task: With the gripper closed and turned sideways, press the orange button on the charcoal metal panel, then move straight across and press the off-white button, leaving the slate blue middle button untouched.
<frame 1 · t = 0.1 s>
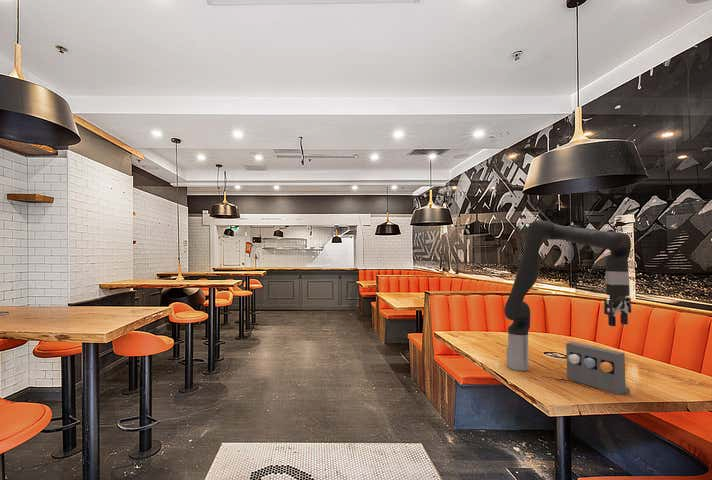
hand: (618, 325, 134), 29 cm above the table, tool pointing down, fingers open, 8 cm apart
offwhite button: (575, 358, 154), point 10 cm above the table, slide at 0.0 cm
button panel: (594, 385, 149), on the table
orange button: (607, 366, 143), point 10 cm above the table, slide at 0.0 cm
slate button: (590, 362, 149), point 10 cm above the table, slide at 0.0 cm
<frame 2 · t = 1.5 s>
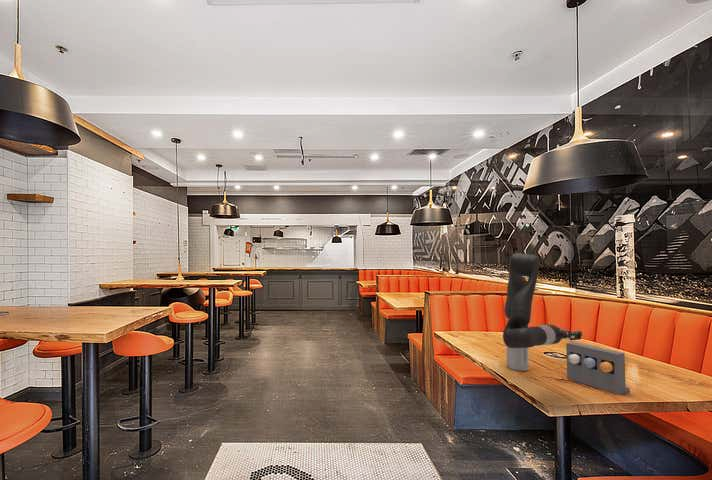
hand: (569, 332, 143), 24 cm above the table, tool horizontal, fingers open, 8 cm apart
nothing on the table moved.
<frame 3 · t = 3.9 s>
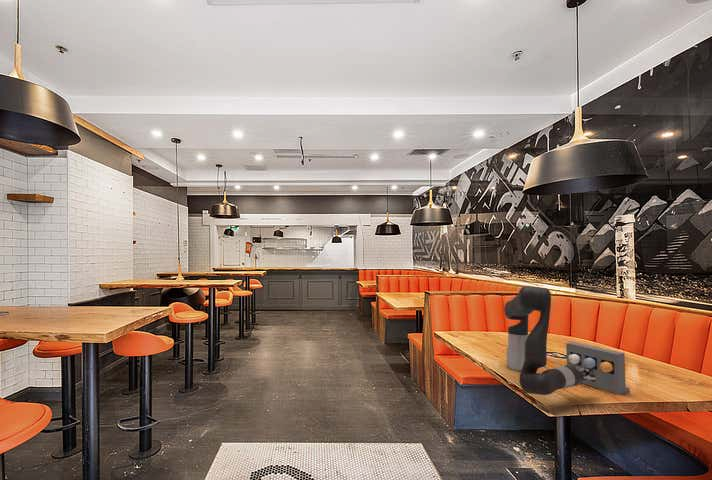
hand: (591, 370, 138), 10 cm above the table, tool horizontal, fingers closed
nothing on the table moved.
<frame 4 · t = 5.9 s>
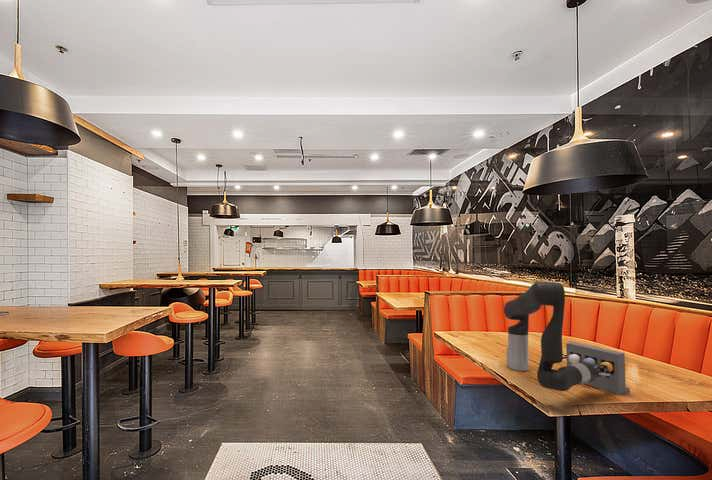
hand: (605, 367, 142), 10 cm above the table, tool horizontal, fingers closed
orange button: (607, 366, 143), point 10 cm above the table, slide at 0.2 cm, touching gripper
everything else where it was.
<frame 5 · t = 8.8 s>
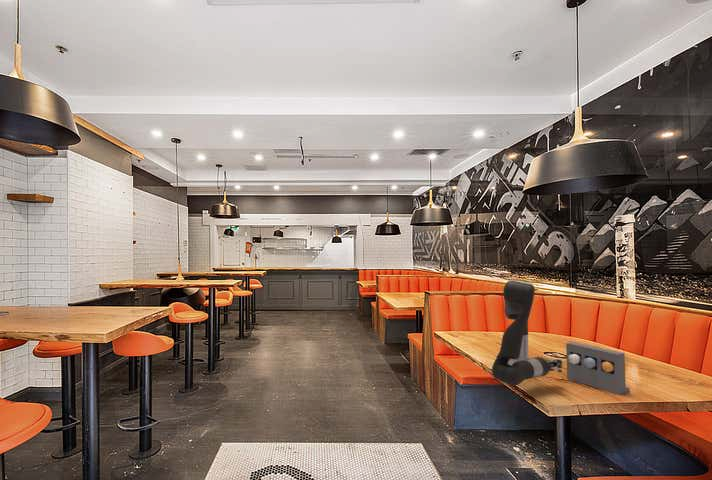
hand: (559, 362, 149), 10 cm above the table, tool horizontal, fingers closed
orange button: (608, 366, 143), point 10 cm above the table, slide at 1.4 cm
everything else where it was.
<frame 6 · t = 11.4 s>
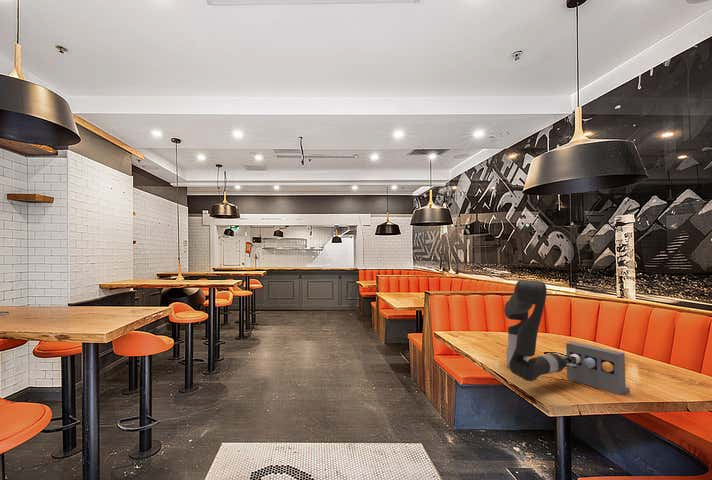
hand: (574, 358, 154), 10 cm above the table, tool horizontal, fingers closed
offwhite button: (576, 358, 155), point 10 cm above the table, slide at 0.8 cm, touching gripper
everything else where it was.
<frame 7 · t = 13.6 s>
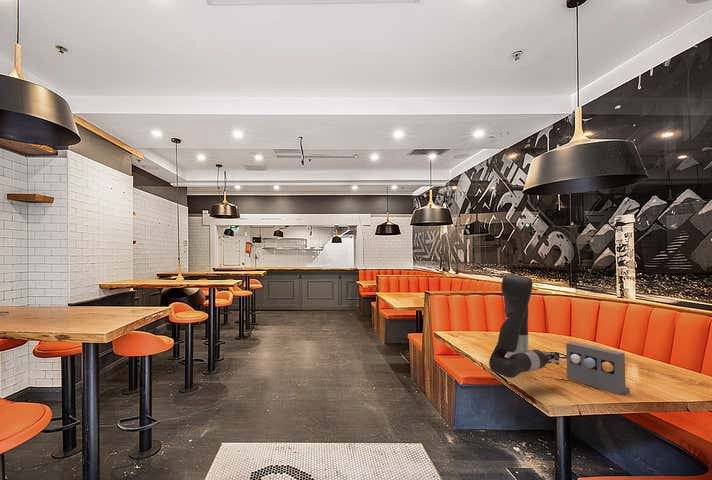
hand: (557, 354, 149), 13 cm above the table, tool horizontal, fingers closed
offwhite button: (576, 358, 155), point 10 cm above the table, slide at 1.4 cm
everything else where it was.
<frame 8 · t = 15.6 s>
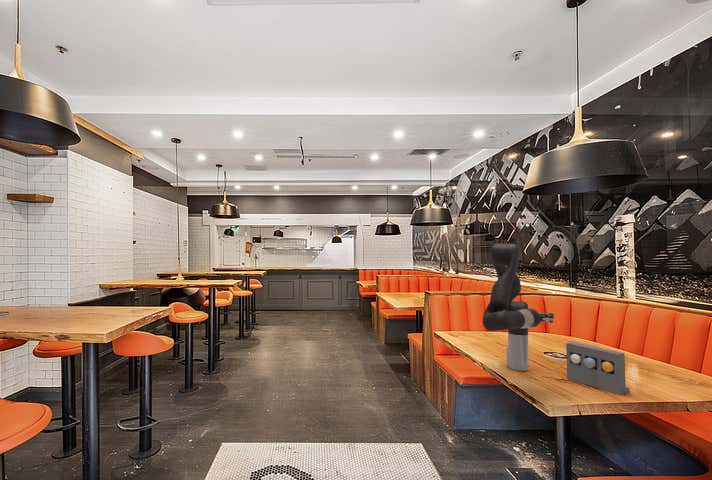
hand: (551, 315, 148), 30 cm above the table, tool horizontal, fingers closed
nothing on the table moved.
at the end: orange button slide at 1.4 cm; offwhite button slide at 1.4 cm; slate button slide at 0.0 cm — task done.
